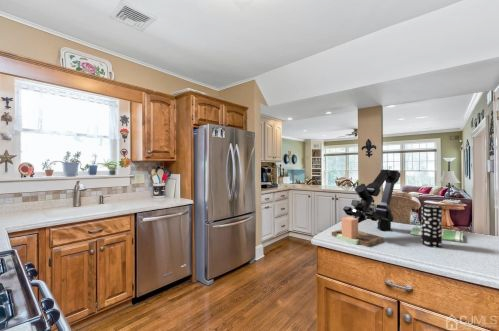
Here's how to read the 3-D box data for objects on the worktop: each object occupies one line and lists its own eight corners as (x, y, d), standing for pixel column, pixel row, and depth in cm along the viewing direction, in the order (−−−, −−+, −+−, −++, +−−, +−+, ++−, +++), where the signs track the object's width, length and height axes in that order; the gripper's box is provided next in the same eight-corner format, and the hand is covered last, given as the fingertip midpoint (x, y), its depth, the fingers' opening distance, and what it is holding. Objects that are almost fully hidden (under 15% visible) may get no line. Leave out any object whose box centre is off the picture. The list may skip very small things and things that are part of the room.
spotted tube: (437, 242, 125) (437, 205, 124) (444, 248, 117) (445, 208, 116) (418, 241, 127) (419, 204, 127) (424, 246, 119) (425, 207, 119)
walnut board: (347, 231, 147) (347, 227, 147) (383, 241, 128) (383, 237, 128) (331, 235, 139) (331, 232, 139) (367, 246, 120) (367, 242, 120)
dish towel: (414, 228, 152) (414, 224, 152) (463, 236, 137) (463, 231, 137) (410, 235, 139) (410, 230, 139) (463, 244, 123) (463, 239, 123)
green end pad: (340, 237, 135) (340, 233, 135) (359, 243, 125) (359, 239, 125) (336, 238, 133) (336, 234, 133) (356, 244, 123) (356, 240, 123)
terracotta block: (348, 234, 134) (348, 216, 134) (358, 237, 129) (358, 218, 129) (341, 236, 131) (341, 218, 131) (351, 239, 126) (351, 220, 126)
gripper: (344, 192, 142) (332, 213, 136) (375, 196, 126) (363, 219, 121) (352, 204, 146) (341, 224, 141) (383, 209, 131) (371, 232, 125)
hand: (353, 225), depth 132 cm, fingers closed, pressing on terracotta block
